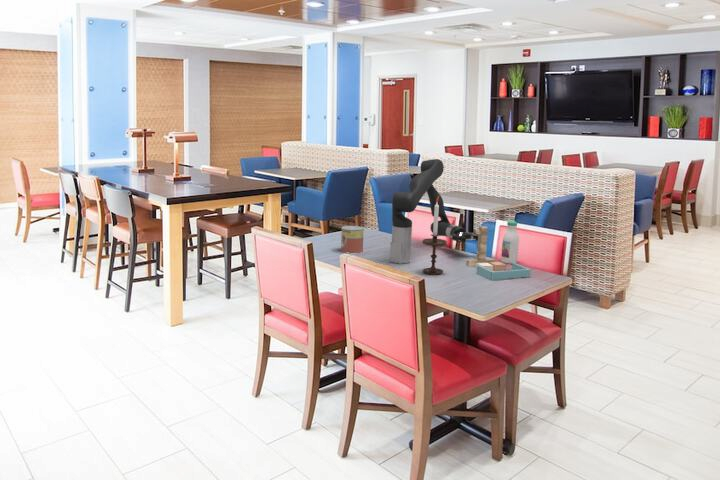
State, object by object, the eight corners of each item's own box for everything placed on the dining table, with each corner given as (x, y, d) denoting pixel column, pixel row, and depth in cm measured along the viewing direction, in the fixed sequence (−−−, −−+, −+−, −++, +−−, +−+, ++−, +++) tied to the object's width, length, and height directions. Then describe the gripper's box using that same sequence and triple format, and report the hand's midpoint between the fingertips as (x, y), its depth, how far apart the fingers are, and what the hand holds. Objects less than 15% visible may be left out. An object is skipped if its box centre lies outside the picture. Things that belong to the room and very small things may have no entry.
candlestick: (441, 269, 294) (445, 193, 287) (447, 275, 284) (452, 197, 277) (418, 269, 293) (422, 193, 285) (424, 275, 282) (428, 196, 275)
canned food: (337, 249, 327) (338, 226, 324) (357, 247, 332) (358, 225, 329) (346, 254, 317) (346, 230, 314) (366, 252, 322) (367, 229, 319)
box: (476, 272, 290) (477, 265, 289) (513, 270, 297) (514, 262, 296) (491, 280, 278) (492, 272, 278) (530, 277, 286) (530, 269, 285)
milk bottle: (514, 260, 316) (518, 220, 312) (518, 264, 309) (522, 223, 305) (499, 259, 316) (502, 220, 312) (503, 263, 309) (506, 222, 304)
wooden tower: (466, 265, 303) (468, 226, 300) (491, 263, 308) (494, 225, 305) (469, 266, 301) (472, 228, 297) (495, 264, 306) (498, 226, 302)
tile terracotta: (489, 268, 300) (489, 262, 299) (499, 267, 301) (500, 261, 301) (494, 271, 295) (495, 265, 294) (505, 270, 296) (505, 264, 296)
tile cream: (476, 269, 297) (476, 263, 297) (486, 268, 299) (487, 262, 298) (481, 272, 292) (482, 266, 291) (492, 271, 294) (493, 265, 293)
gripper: (444, 226, 321) (460, 232, 307) (468, 225, 327) (486, 231, 312) (443, 241, 323) (459, 248, 308) (467, 239, 328) (485, 246, 313)
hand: (473, 239), depth 310 cm, fingers open, 8 cm apart
